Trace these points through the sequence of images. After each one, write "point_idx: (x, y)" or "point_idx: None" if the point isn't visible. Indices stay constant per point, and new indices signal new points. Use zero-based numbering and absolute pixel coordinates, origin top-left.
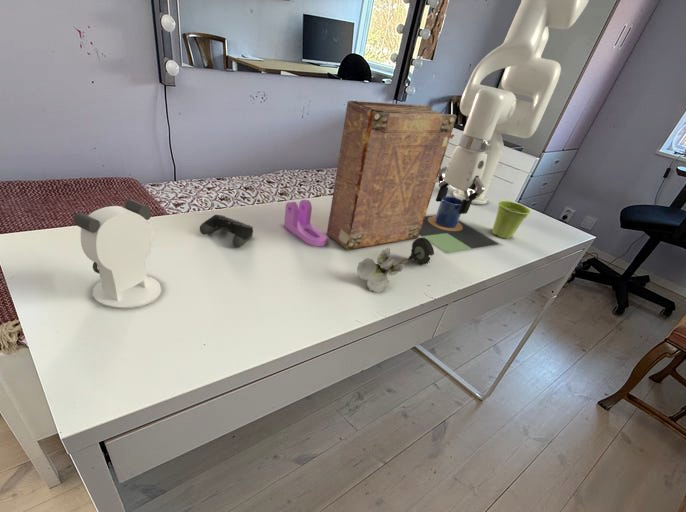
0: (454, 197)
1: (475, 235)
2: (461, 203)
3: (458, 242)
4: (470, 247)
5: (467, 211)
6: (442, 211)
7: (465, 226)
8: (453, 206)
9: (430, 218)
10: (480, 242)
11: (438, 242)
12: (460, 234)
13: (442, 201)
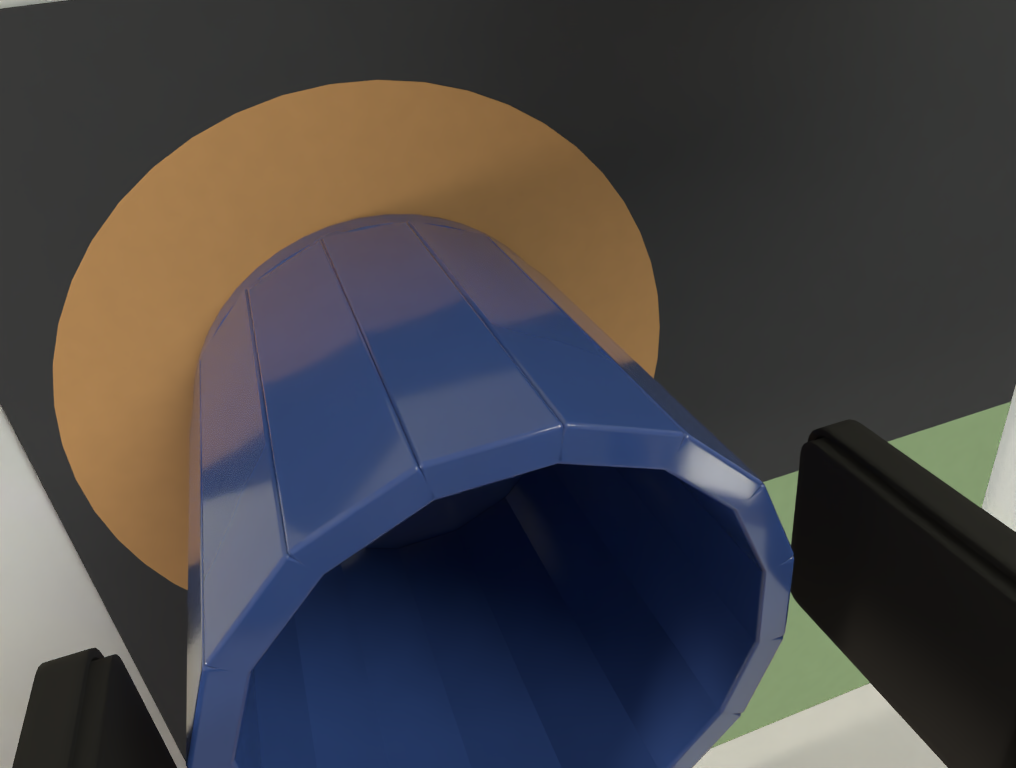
0: (267, 587)
1: (847, 106)
2: (914, 730)
3: None
4: (994, 401)
5: (869, 429)
6: (503, 685)
7: (540, 40)
8: (698, 700)
9: None
10: (994, 187)
11: (806, 663)
12: (753, 346)
13: None
